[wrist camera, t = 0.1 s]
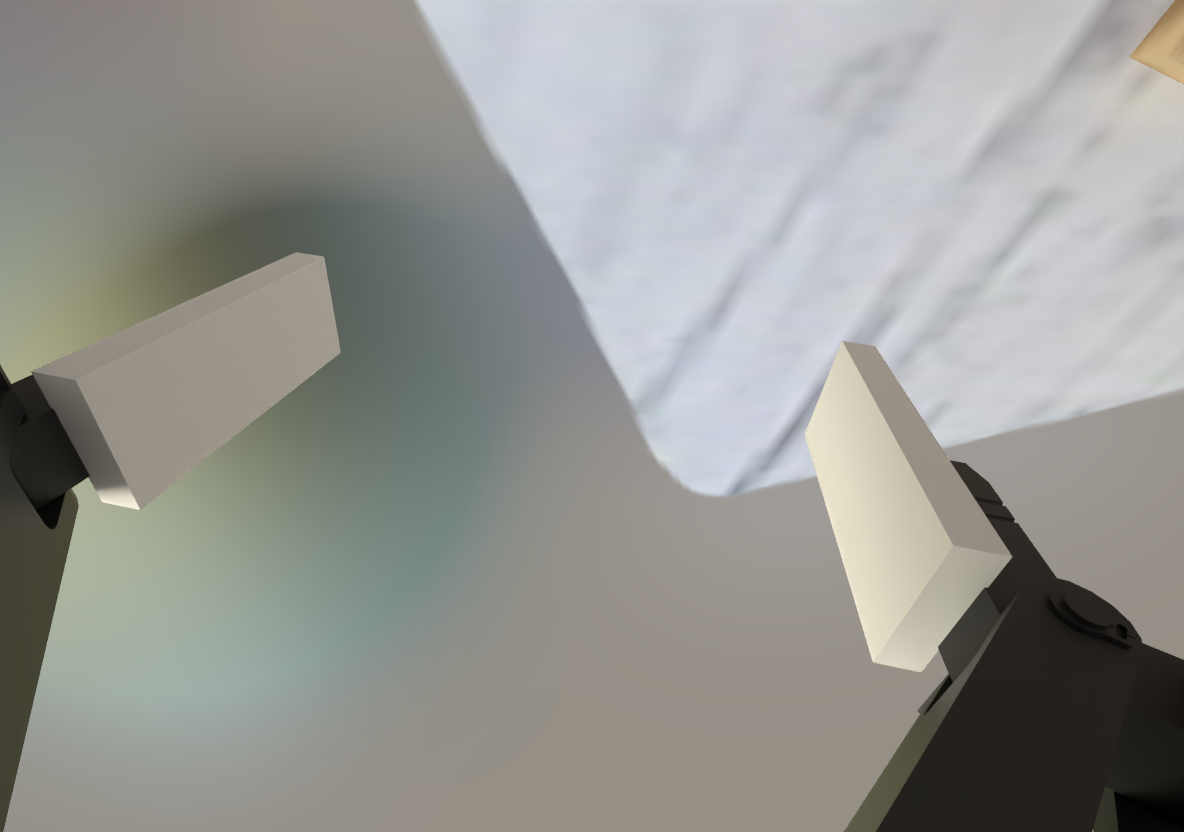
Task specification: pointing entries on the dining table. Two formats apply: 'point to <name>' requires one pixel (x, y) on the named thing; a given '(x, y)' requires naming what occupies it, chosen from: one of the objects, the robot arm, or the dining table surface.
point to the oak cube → (1165, 44)
